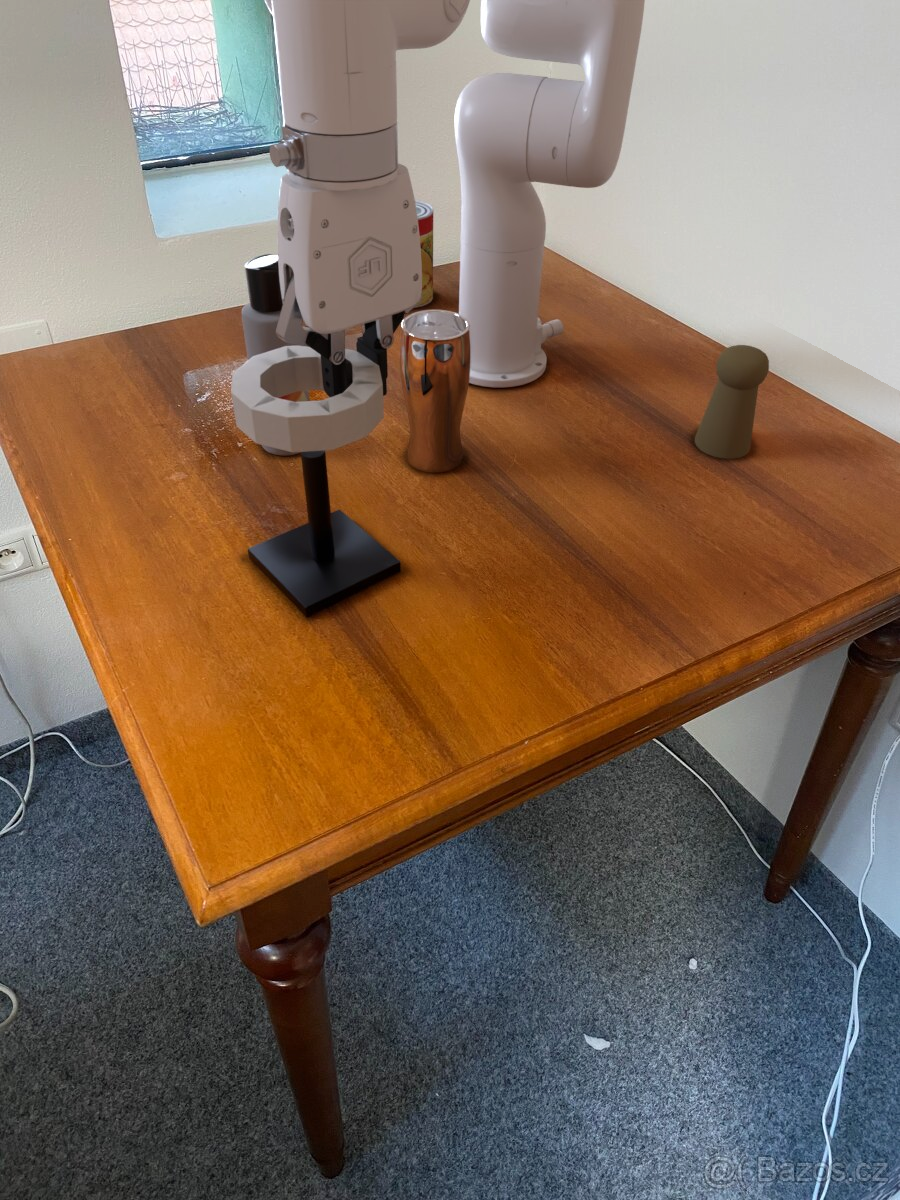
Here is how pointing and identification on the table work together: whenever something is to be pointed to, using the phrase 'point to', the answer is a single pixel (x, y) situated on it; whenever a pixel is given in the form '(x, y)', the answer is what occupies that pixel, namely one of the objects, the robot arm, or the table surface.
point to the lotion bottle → (265, 318)
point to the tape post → (322, 550)
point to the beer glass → (435, 386)
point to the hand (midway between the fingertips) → (356, 393)
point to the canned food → (426, 249)
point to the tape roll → (309, 419)
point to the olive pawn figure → (733, 403)
